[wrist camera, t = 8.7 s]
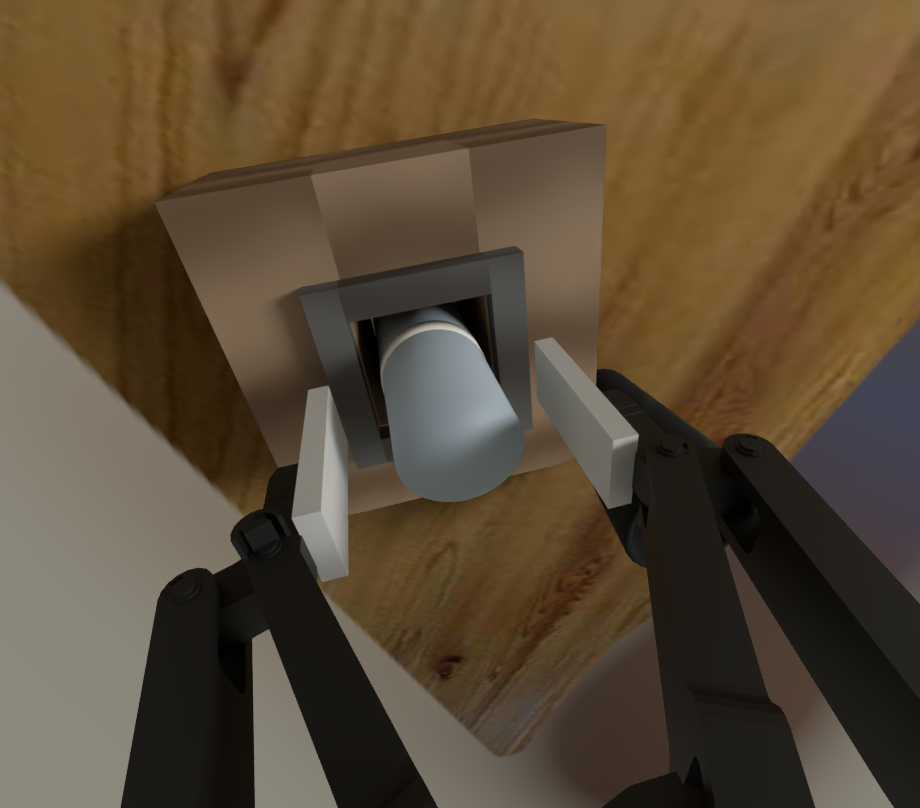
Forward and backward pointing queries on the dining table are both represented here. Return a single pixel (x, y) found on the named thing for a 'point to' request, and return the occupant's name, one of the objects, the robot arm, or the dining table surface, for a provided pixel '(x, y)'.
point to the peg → (444, 406)
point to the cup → (627, 514)
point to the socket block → (398, 274)
